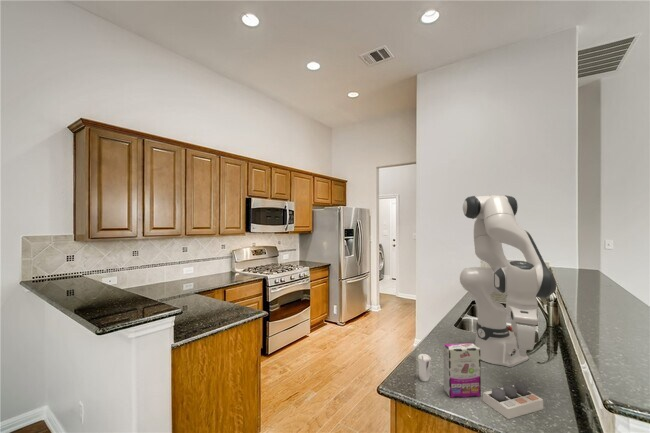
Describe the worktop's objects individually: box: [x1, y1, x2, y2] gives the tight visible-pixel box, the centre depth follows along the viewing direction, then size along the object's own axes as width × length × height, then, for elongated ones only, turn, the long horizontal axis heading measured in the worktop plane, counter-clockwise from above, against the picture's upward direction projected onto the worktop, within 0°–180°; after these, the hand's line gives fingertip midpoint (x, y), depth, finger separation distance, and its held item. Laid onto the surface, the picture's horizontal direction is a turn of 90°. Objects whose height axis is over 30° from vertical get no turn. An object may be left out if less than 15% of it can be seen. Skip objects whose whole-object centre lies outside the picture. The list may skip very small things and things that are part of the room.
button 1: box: [491, 387, 505, 402], centre depth 95 cm, size 4×4×3 cm
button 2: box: [513, 381, 529, 396], centre depth 98 cm, size 4×4×3 cm
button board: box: [482, 384, 544, 420], centre depth 95 cm, size 15×9×3 cm, turn 109°
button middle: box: [502, 384, 517, 399], centre depth 96 cm, size 4×4×3 cm
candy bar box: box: [442, 342, 482, 399], centre depth 102 cm, size 11×5×16 cm, turn 94°
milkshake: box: [417, 353, 432, 382], centre depth 110 cm, size 4×5×10 cm
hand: (521, 352), depth 98 cm, fingers open, 4 cm apart
